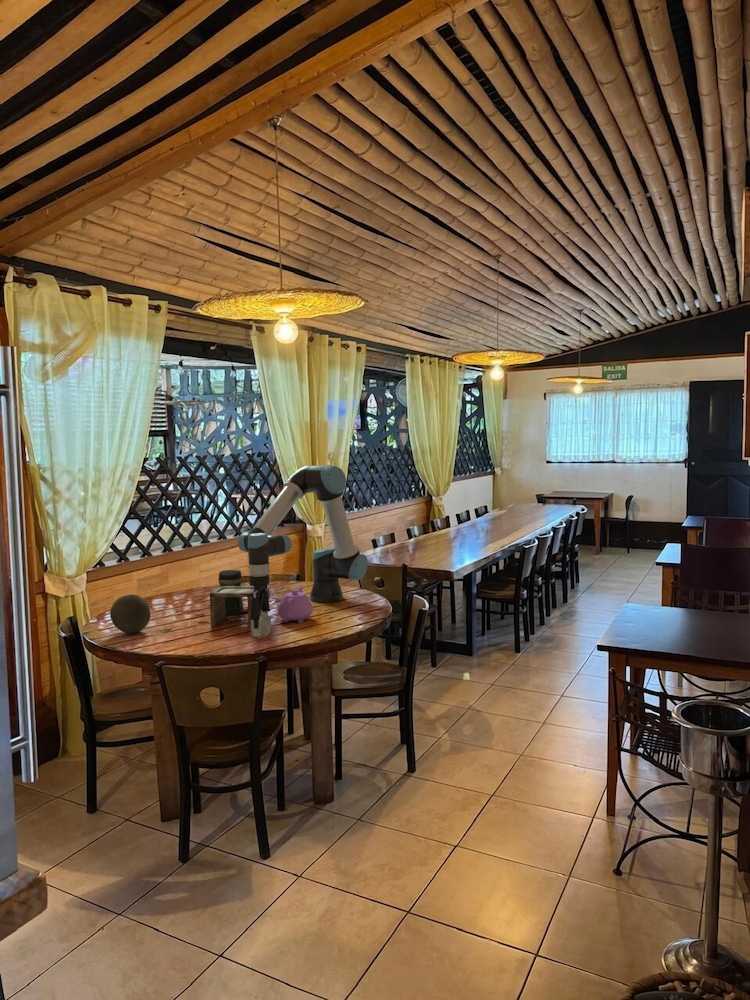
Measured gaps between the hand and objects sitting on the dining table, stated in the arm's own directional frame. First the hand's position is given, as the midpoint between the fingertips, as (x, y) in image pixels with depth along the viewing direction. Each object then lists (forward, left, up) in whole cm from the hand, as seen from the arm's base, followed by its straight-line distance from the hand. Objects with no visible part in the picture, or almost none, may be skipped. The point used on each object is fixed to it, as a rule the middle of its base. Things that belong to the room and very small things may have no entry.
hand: (261, 632), depth 256 cm
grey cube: (0, 0, 0) cm, 0 cm away
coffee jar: (+21, -29, -1) cm, 36 cm away
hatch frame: (+14, -14, 0) cm, 20 cm away
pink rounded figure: (-9, -20, -1) cm, 22 cm away
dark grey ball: (+50, +3, -1) cm, 50 cm away
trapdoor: (+11, -14, +9) cm, 20 cm away
